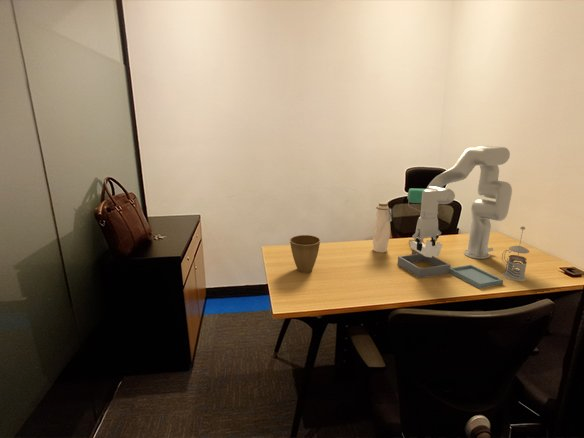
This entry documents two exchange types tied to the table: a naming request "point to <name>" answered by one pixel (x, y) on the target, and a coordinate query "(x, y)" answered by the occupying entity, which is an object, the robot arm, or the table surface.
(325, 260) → the table surface
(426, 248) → the bracket
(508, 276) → the french press
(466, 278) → the tray
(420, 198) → the banker's lamp
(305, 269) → the plant pot
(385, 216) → the water bottle
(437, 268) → the bin
